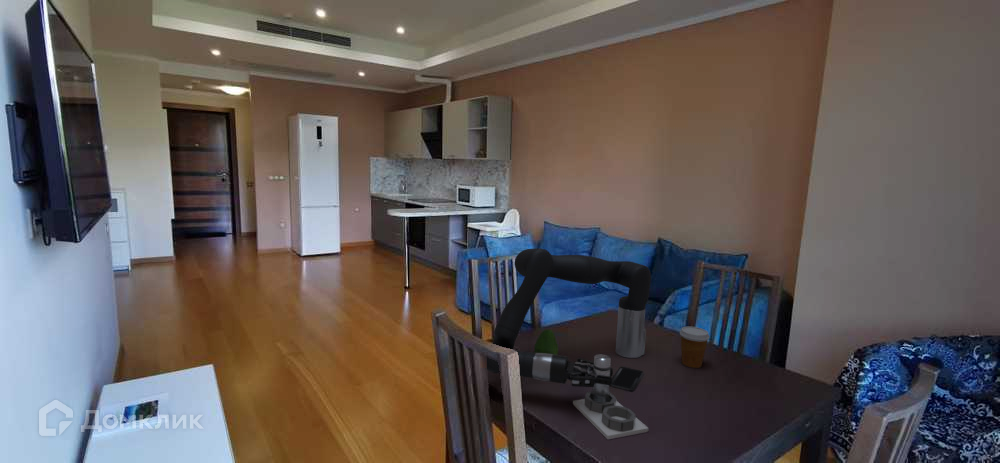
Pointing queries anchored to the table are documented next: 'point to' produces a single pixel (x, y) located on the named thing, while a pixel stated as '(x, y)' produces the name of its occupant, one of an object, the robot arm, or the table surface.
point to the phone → (626, 379)
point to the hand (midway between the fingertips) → (611, 376)
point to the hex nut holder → (610, 417)
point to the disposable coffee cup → (693, 345)
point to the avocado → (546, 343)
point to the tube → (601, 368)
